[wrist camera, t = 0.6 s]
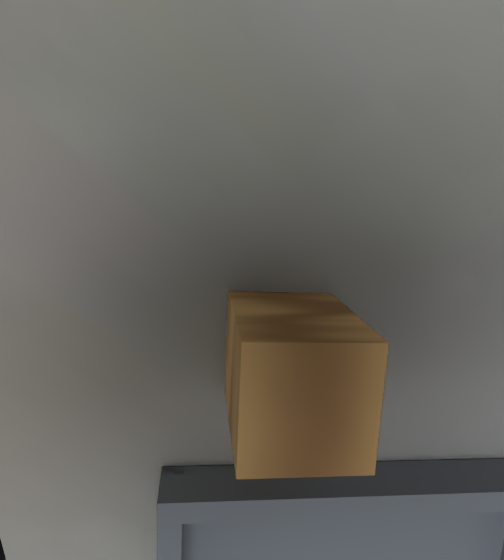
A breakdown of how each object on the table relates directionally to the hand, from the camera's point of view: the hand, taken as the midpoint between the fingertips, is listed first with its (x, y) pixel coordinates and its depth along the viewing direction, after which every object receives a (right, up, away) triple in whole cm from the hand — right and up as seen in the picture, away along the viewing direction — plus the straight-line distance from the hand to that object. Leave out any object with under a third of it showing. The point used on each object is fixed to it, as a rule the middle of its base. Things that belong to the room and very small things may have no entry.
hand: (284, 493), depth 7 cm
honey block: (+1, +1, +13) cm, 13 cm away
